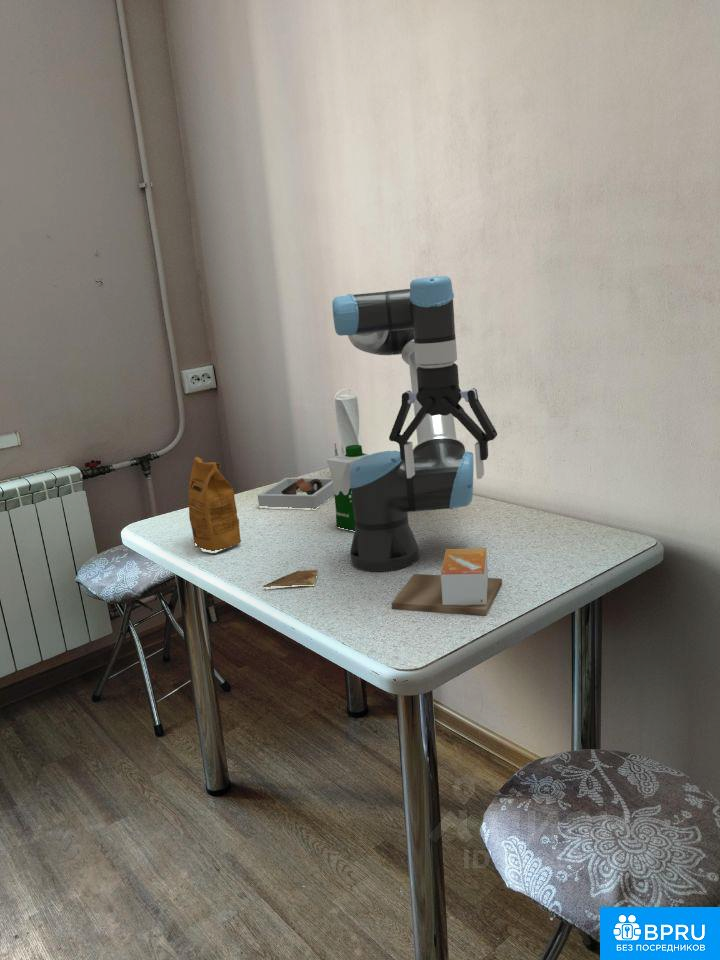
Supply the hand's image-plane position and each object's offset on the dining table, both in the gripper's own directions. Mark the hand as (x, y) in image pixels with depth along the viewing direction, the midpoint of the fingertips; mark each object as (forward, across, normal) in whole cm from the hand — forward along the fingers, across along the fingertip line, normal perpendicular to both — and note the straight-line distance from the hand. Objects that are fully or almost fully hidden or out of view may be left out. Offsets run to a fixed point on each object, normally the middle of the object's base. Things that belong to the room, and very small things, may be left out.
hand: (445, 476), depth 148 cm
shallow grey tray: (+23, +59, -53) cm, 82 cm away
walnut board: (+23, 0, +4) cm, 23 cm away
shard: (+23, +33, +3) cm, 41 cm away
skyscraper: (+23, +51, -73) cm, 92 cm away
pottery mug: (+23, +57, -50) cm, 79 cm away
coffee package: (+23, +64, -16) cm, 70 cm away
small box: (+18, -2, -3) cm, 19 cm away
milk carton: (+23, +34, -33) cm, 52 cm away
